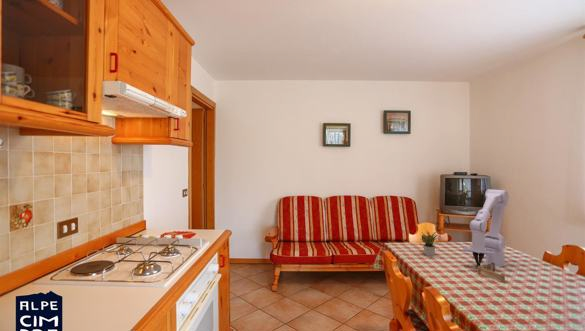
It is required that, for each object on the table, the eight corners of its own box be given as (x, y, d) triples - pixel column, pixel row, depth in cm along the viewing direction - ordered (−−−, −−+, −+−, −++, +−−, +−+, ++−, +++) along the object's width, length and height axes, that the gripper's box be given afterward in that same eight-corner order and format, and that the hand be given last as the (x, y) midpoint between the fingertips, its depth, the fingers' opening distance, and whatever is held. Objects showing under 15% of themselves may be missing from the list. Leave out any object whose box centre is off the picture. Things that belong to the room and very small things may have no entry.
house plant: (444, 254, 179) (444, 229, 179) (443, 260, 168) (443, 233, 168) (420, 250, 187) (420, 226, 187) (418, 256, 175) (417, 231, 175)
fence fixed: (479, 273, 146) (478, 265, 146) (505, 282, 134) (505, 274, 134) (477, 273, 146) (476, 266, 146) (503, 283, 134) (503, 274, 134)
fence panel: (482, 274, 145) (482, 266, 145) (479, 272, 146) (478, 265, 147) (495, 270, 149) (495, 263, 149) (492, 269, 151) (492, 262, 151)
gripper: (462, 241, 154) (462, 265, 154) (494, 245, 145) (494, 271, 145) (463, 238, 159) (463, 262, 159) (494, 242, 151) (494, 267, 151)
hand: (478, 266), depth 153 cm, fingers closed
